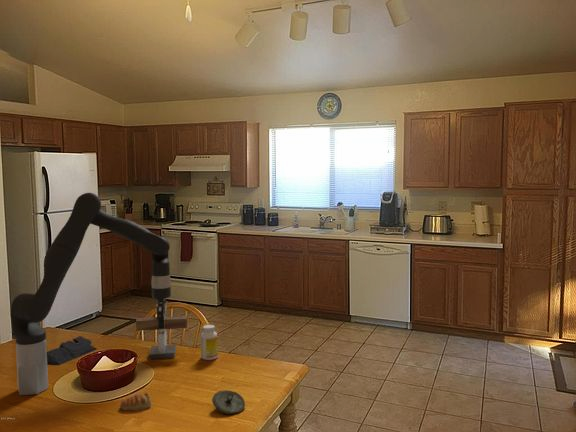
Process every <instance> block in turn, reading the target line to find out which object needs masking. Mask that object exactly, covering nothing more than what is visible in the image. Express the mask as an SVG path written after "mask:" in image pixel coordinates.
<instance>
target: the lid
mask: <svg viewBox="0 0 576 432" xmlns="http://www.w3.org/2000/svg"><path fill="white" fill-rule="evenodd" d="M211 401H212V402H211V403H212V405H213V406H214V408H215V409H216V410H217V411H219V412H221V413H223V414H225V415H236V414H239V413H241V412H243V411H244V408H245V406H246V403H245V398H243V396H242V395H241V394H240V393H238V392H236V391H232V390H219V391H217V392H215V393H214V394H213V396H212V399H211Z"/></svg>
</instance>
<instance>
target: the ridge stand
mask: <svg viewBox="0 0 576 432" xmlns="http://www.w3.org/2000/svg"><path fill="white" fill-rule="evenodd" d="M157 338H158V339H157V341H158V342H157V343H158V345H151V347H150V349H149V353H148V360H157V359H174V358H176V351H177V344H168V342H167V341H168V339H167V329H162V330H159V331H158V334H157Z"/></svg>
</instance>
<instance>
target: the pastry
mask: <svg viewBox="0 0 576 432" xmlns="http://www.w3.org/2000/svg"><path fill="white" fill-rule="evenodd" d="M119 407H120V409H121V410H123V411H139V410H144V409H149V408H151V407H152V400H151V396H150V393H149V392H147V391H146V392H145V393H136V394H134V395H133V396H131V397H127V398H126V399H124V400H122V401H121V403H120V405H119Z"/></svg>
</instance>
